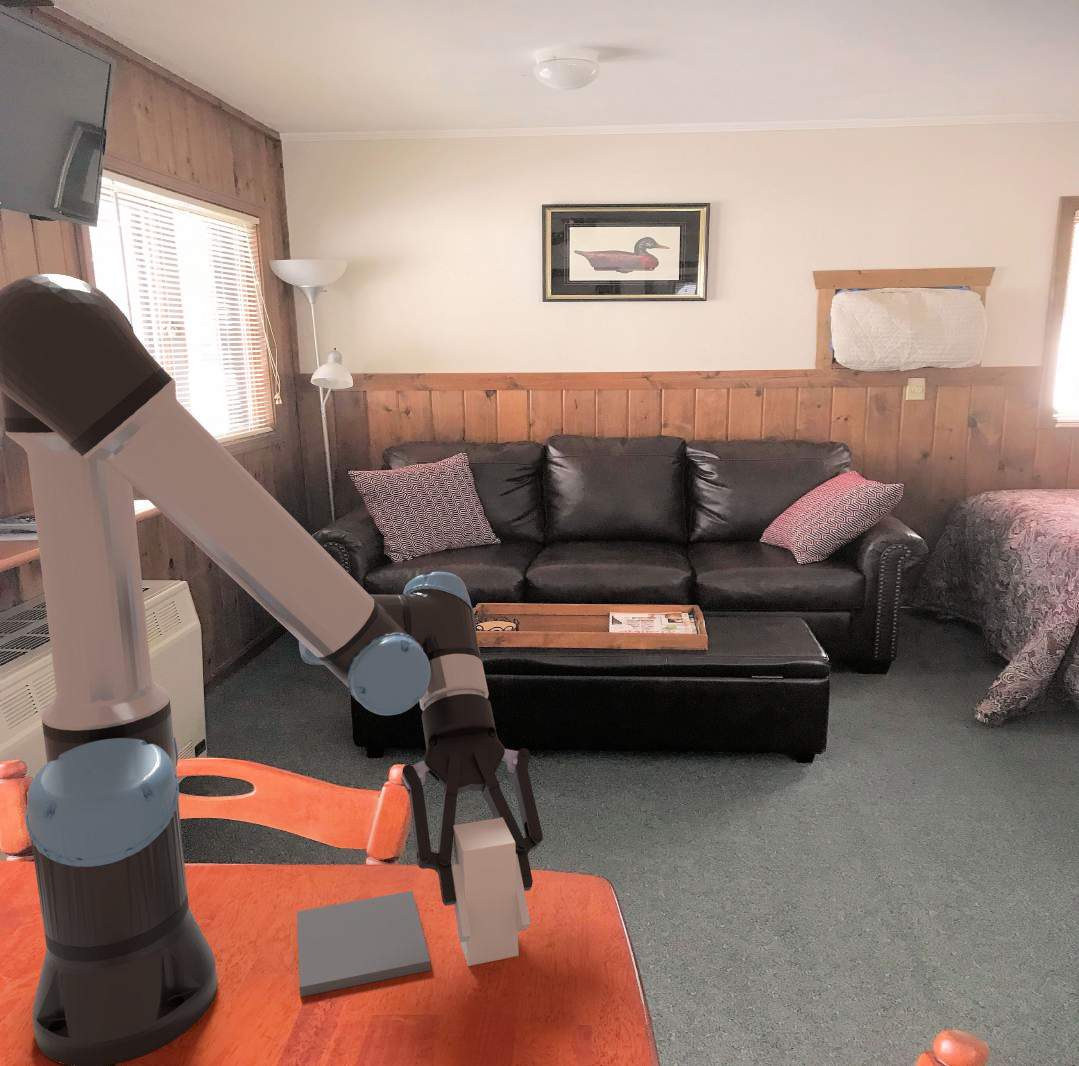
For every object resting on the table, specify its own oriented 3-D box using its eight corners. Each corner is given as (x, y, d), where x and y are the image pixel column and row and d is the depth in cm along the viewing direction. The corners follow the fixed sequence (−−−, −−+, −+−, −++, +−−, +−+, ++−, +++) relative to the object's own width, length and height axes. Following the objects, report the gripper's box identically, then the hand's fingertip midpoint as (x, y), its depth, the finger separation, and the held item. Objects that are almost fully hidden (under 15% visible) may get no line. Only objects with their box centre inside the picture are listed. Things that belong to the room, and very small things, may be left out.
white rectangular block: (468, 966, 85) (463, 851, 83) (458, 934, 90) (453, 825, 88) (518, 955, 87) (515, 842, 84) (506, 925, 91) (502, 817, 89)
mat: (300, 997, 82) (299, 987, 81) (297, 920, 93) (296, 911, 93) (430, 970, 85) (430, 960, 85) (412, 899, 96) (412, 890, 96)
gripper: (529, 709, 102) (577, 924, 89) (370, 730, 97) (397, 960, 85) (541, 680, 96) (594, 906, 83) (372, 701, 91) (401, 944, 79)
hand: (495, 933), depth 84 cm, fingers closed on white rectangular block, 5 cm apart
